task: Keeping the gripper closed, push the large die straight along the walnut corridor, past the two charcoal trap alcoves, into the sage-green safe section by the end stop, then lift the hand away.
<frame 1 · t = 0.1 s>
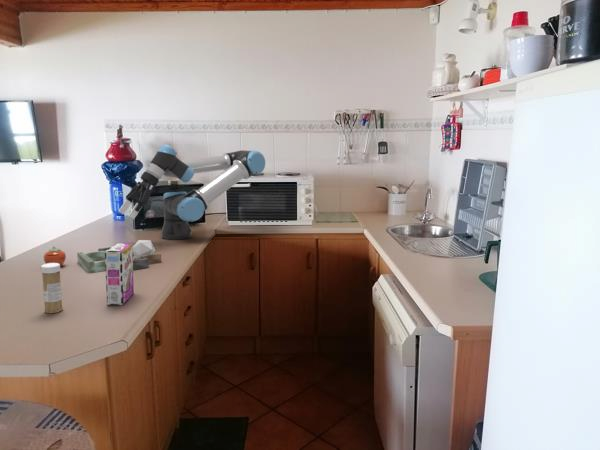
hand: (125, 215, 193), 15 cm above the worktop, tool tilted 35°, fingers open, 13 cm apart
candy bar box: (121, 300, 133), on the worktop
die: (144, 259, 180), on the worktop
sprinkles bottle: (54, 311, 123), on the worktop
tomato: (55, 267, 166), on the worktop
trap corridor: (120, 262, 174), on the worktop
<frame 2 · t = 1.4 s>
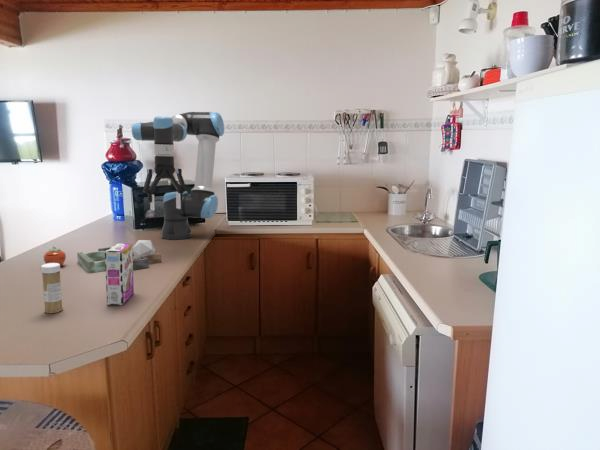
hand: (165, 209, 182), 20 cm above the worktop, tool pointing down, fingers open, 10 cm apart
nothing on the worktop moved.
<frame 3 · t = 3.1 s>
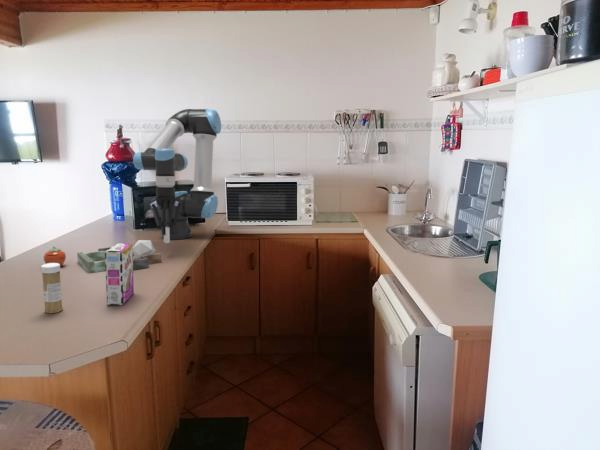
hand: (166, 242, 184), 6 cm above the worktop, tool pointing down, fingers closed
nothing on the worktop moved.
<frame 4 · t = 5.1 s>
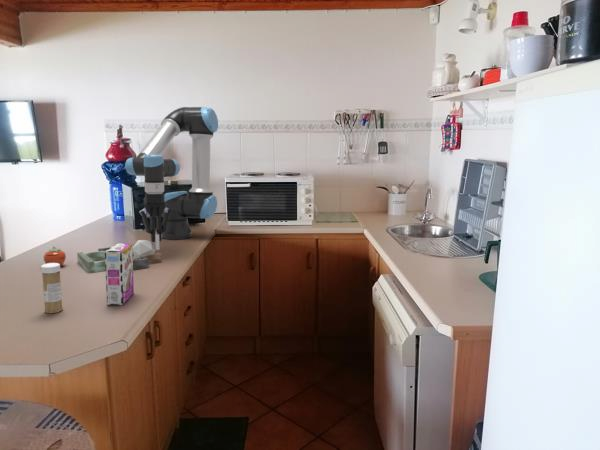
hand: (156, 249, 182), 4 cm above the worktop, tool pointing down, fingers closed
die: (143, 259, 180), on the worktop, touching gripper
everything else where it was.
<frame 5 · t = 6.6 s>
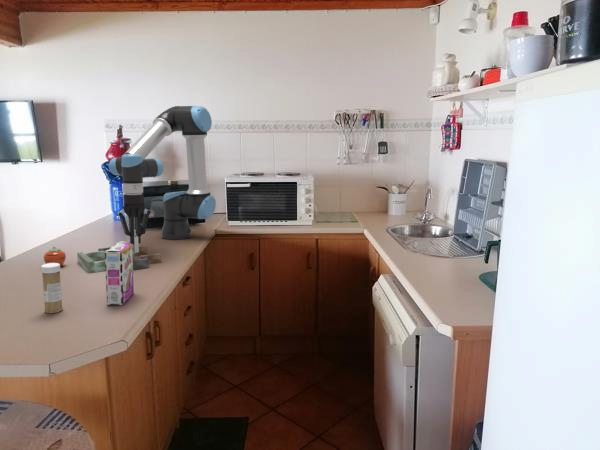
hand: (135, 251, 177), 4 cm above the worktop, tool pointing down, fingers closed
die: (123, 261, 176), on the worktop, touching gripper
everything else where it was.
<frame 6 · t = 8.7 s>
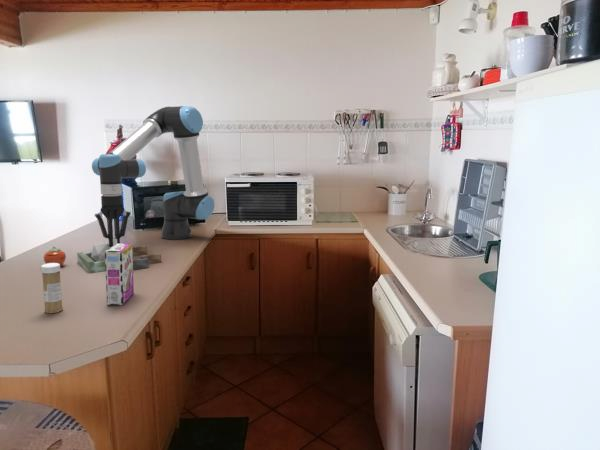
hand: (114, 254, 172), 3 cm above the worktop, tool pointing down, fingers closed
die: (104, 262, 173), on the worktop, touching gripper
everything else where it was.
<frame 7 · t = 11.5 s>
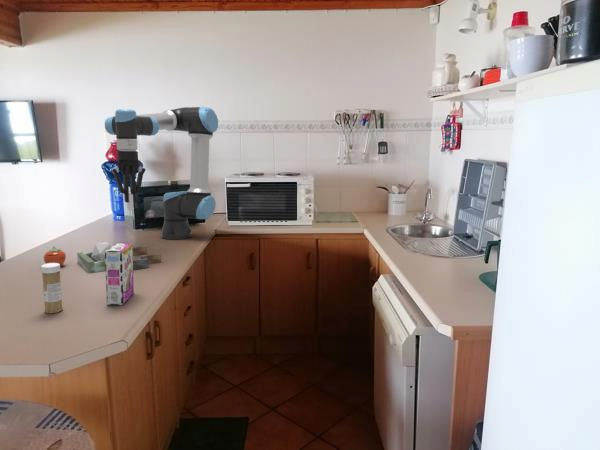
hand: (130, 210, 174), 20 cm above the worktop, tool pointing down, fingers closed
die: (104, 262, 173), on the worktop
everything else where it was.
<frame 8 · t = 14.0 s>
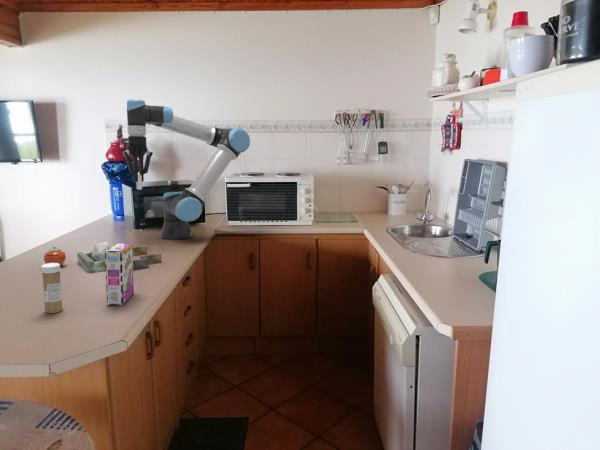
hand: (139, 189, 197), 26 cm above the worktop, tool pointing down, fingers closed
nothing on the worktop moved.
at the end: die inside the target area (4.3 cm from its centre), on the worktop; die on the worktop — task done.
